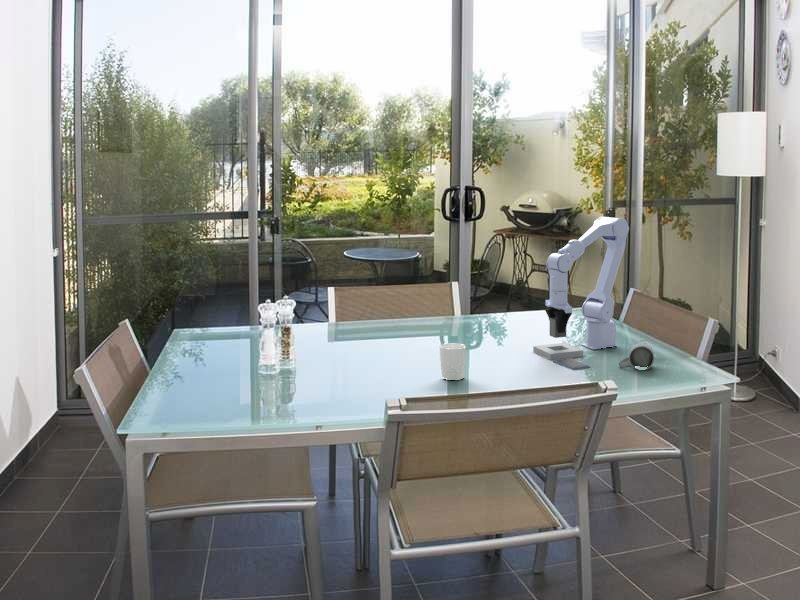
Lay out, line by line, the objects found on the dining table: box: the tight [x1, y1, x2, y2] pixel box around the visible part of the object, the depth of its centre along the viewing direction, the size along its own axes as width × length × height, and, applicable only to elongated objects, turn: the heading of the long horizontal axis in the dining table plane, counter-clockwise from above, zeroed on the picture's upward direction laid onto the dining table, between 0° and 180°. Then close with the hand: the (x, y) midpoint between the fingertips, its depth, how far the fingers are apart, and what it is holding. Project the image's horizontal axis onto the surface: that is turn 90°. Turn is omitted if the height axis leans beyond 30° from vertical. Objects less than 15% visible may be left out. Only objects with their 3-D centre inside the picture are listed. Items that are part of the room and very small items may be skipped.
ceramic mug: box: [618, 342, 655, 370], centre depth 290 cm, size 11×8×8 cm
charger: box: [549, 317, 567, 339], centre depth 307 cm, size 4×4×6 cm
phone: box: [552, 358, 590, 371], centre depth 295 cm, size 6×11×1 cm, turn 25°
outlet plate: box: [532, 342, 584, 361], centre depth 309 cm, size 12×12×2 cm
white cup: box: [439, 342, 467, 380], centre depth 282 cm, size 8×8×10 cm
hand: (558, 331), depth 308 cm, fingers closed on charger, 4 cm apart
